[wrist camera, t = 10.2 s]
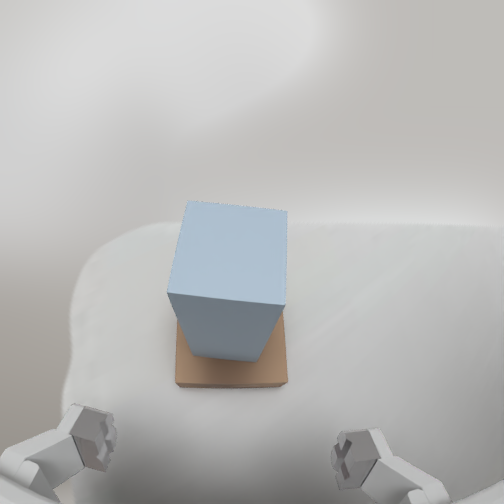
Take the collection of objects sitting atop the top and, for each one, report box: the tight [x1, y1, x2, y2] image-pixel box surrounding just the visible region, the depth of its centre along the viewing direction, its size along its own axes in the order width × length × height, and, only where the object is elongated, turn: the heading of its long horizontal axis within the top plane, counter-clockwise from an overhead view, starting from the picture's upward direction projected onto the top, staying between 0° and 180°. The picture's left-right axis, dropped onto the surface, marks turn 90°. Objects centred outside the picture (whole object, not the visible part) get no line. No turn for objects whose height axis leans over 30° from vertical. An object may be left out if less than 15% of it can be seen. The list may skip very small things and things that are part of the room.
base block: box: [175, 311, 288, 388], centre depth 21 cm, size 7×7×3 cm
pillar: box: [167, 201, 287, 362], centre depth 16 cm, size 4×4×10 cm
